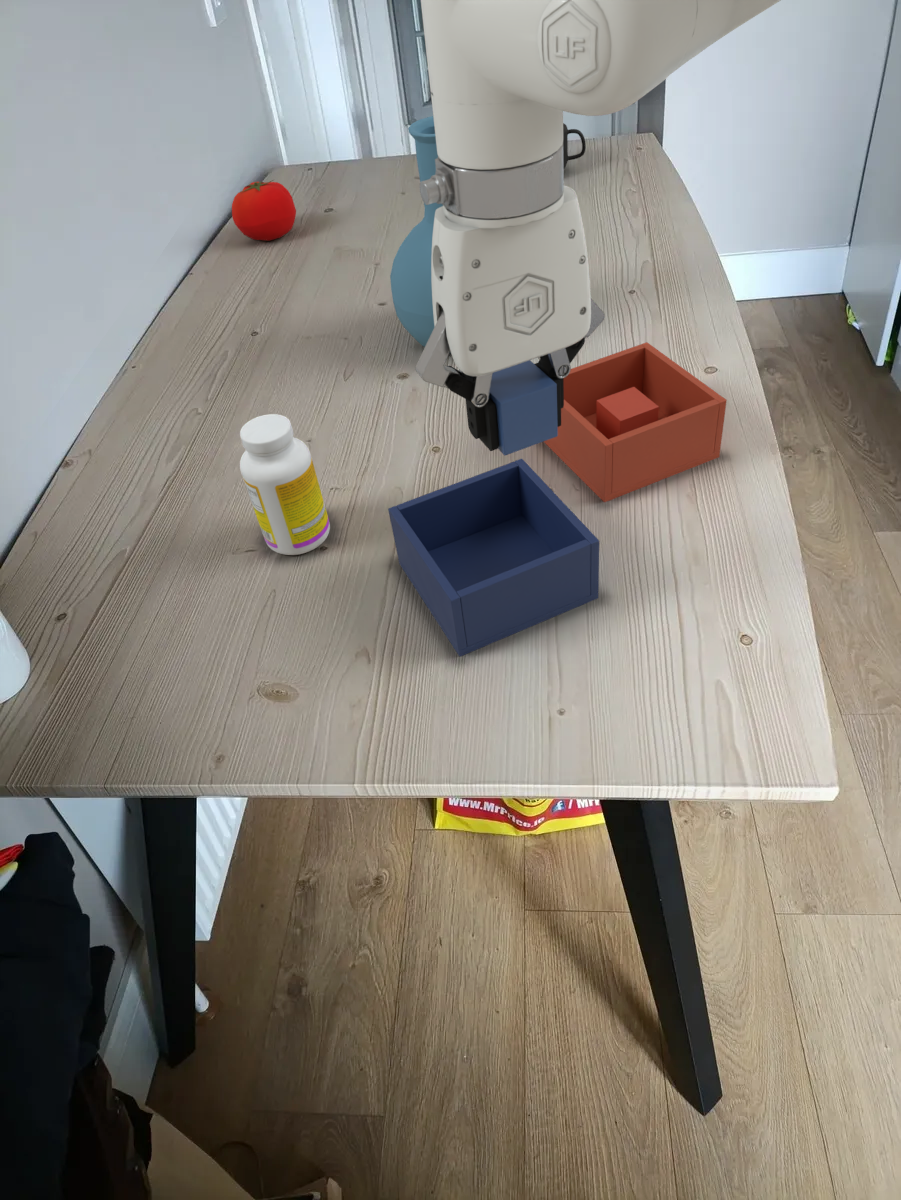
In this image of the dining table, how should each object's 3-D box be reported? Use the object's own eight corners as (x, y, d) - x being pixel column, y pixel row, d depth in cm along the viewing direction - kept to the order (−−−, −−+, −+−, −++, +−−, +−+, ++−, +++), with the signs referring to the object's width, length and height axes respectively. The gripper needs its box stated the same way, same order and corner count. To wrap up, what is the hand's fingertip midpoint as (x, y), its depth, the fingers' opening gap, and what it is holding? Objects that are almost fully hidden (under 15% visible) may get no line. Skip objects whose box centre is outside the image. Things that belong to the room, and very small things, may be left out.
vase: (375, 357, 111) (335, 148, 94) (434, 297, 121) (408, 97, 104) (494, 376, 105) (475, 155, 87) (545, 311, 115) (538, 101, 97)
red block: (632, 423, 94) (634, 386, 91) (656, 443, 91) (659, 406, 88) (596, 436, 93) (596, 400, 90) (619, 458, 90) (620, 420, 87)
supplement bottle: (340, 517, 89) (312, 409, 80) (318, 561, 85) (286, 451, 76) (280, 512, 91) (246, 405, 82) (255, 555, 87) (216, 447, 78)
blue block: (529, 408, 69) (526, 356, 65) (558, 436, 66) (556, 383, 62) (477, 426, 68) (472, 375, 64) (504, 456, 65) (500, 403, 61)
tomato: (312, 231, 142) (300, 178, 136) (259, 255, 138) (245, 200, 132) (280, 219, 148) (267, 166, 142) (228, 241, 143) (213, 188, 137)
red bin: (643, 396, 99) (646, 341, 94) (719, 457, 89) (726, 399, 85) (537, 436, 96) (534, 381, 91) (604, 502, 86) (605, 445, 82)
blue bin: (525, 514, 86) (521, 458, 82) (598, 598, 77) (599, 540, 72) (399, 563, 83) (387, 508, 79) (459, 657, 74) (451, 601, 69)
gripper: (398, 237, 49) (436, 494, 62) (654, 162, 53) (640, 418, 66) (352, 196, 54) (396, 441, 67) (589, 130, 58) (588, 374, 71)
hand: (517, 427), depth 66 cm, fingers closed on blue block, 4 cm apart
